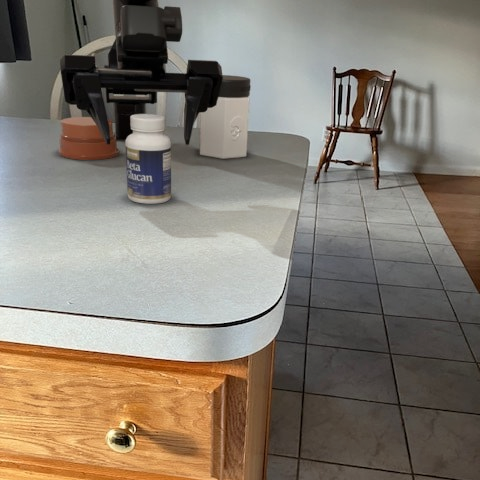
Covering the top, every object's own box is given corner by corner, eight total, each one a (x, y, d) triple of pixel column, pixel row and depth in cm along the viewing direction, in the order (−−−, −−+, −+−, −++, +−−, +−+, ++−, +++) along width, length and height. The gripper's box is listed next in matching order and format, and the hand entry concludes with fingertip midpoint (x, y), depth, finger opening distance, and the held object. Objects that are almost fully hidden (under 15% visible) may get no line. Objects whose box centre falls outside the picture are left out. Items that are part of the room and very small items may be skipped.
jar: (212, 160, 88) (214, 80, 82) (188, 150, 93) (188, 74, 88) (257, 156, 92) (262, 79, 86) (231, 147, 98) (235, 74, 92)
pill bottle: (120, 201, 66) (116, 117, 61) (137, 190, 71) (134, 111, 66) (162, 207, 65) (161, 121, 60) (177, 195, 70) (176, 115, 65)
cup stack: (71, 145, 92) (68, 114, 90) (125, 149, 92) (124, 118, 89) (49, 157, 84) (45, 123, 81) (109, 161, 83) (107, 128, 81)
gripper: (51, -30, 58) (57, 94, 54) (222, -17, 62) (239, 99, 58) (63, 48, 68) (68, 157, 64) (208, 55, 72) (222, 157, 68)
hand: (148, 142), depth 63 cm, fingers open, 9 cm apart
